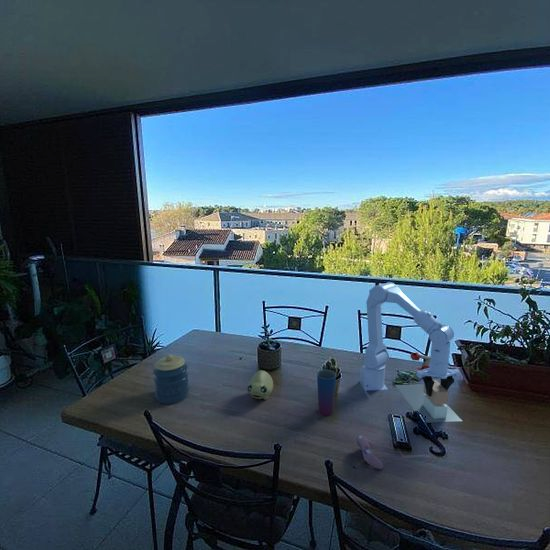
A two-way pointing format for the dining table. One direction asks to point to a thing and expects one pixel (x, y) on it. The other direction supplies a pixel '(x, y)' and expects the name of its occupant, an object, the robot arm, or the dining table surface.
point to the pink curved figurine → (368, 452)
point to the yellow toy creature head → (260, 385)
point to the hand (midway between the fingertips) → (435, 394)
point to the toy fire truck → (417, 356)
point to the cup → (326, 391)
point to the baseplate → (415, 400)
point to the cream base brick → (434, 408)
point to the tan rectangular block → (438, 393)
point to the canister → (171, 379)
